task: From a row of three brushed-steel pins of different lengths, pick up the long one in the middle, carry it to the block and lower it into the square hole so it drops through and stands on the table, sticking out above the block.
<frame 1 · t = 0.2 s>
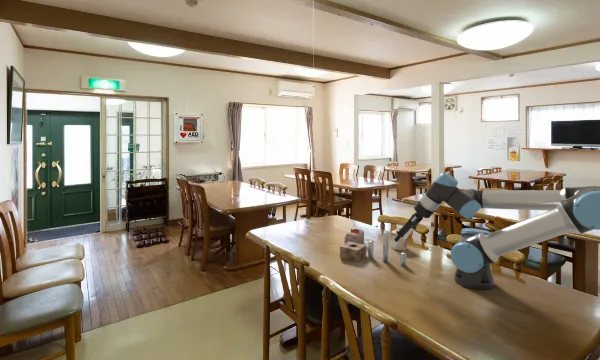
hand: (397, 241, 149), 16 cm above the table, tool tilted 35°, fingers open, 13 cm apart
food item: (354, 246, 193), on the table
pin short: (403, 265, 163), on the table
hole block: (353, 256, 175), on the table
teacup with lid: (399, 247, 190), on the table
pin long: (385, 261, 168), on the table
pin medium: (370, 257, 173), on the table
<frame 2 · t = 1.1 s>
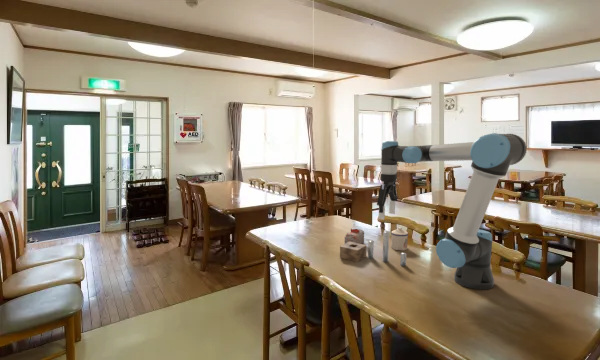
hand: (386, 216, 165), 23 cm above the table, tool pointing down, fingers open, 13 cm apart
nothing on the table moved.
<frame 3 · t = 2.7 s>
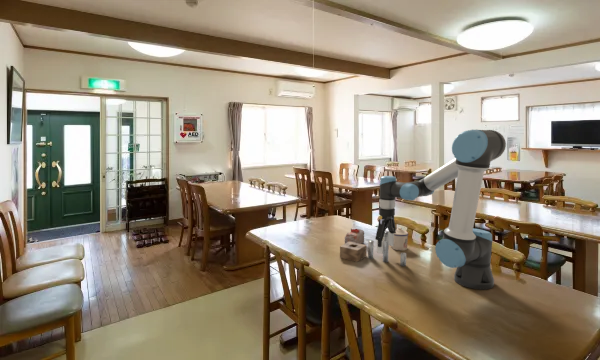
hand: (385, 249, 168), 6 cm above the table, tool pointing down, fingers open, 13 cm apart
nothing on the table moved.
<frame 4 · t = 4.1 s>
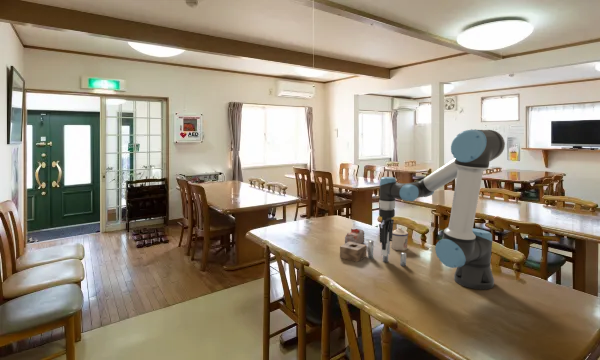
hand: (385, 254, 168), 4 cm above the table, tool pointing down, fingers closed on pin long, 2 cm apart
pin long: (385, 261, 168), on the table, touching gripper
everything else where it was.
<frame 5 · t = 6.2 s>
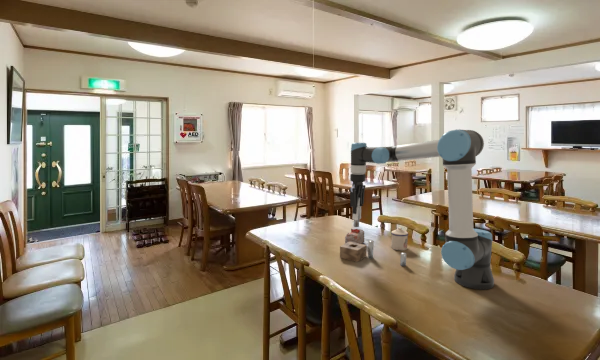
hand: (356, 219, 172), 20 cm above the table, tool pointing down, fingers closed on pin long, 2 cm apart
pin long: (356, 226, 172), point 16 cm above the table, touching gripper
everything else where it was.
when the fingers open (7 cm above the table, at t = 8.6 s): pin long drops 3 cm, resting in hole block.
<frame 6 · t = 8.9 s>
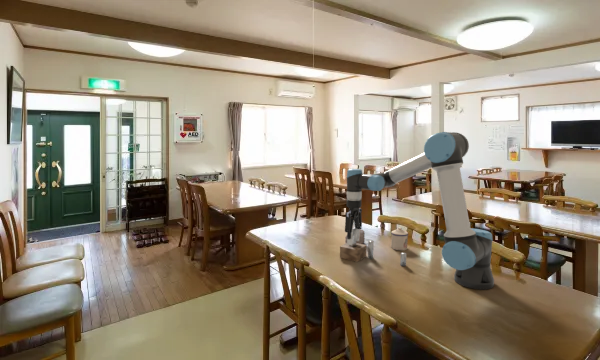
hand: (353, 242, 174), 8 cm above the table, tool pointing down, fingers open, 7 cm apart
pin long: (353, 256, 175), resting in hole block
everything else where it was.
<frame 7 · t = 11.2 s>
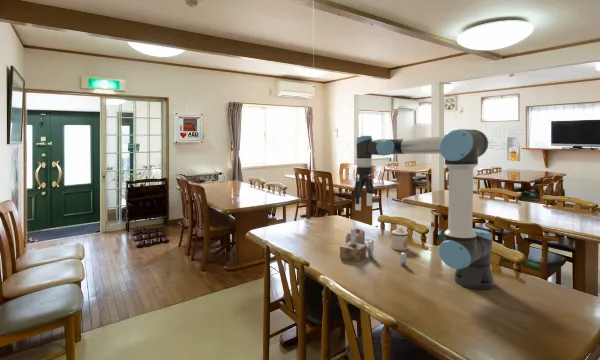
hand: (363, 208, 172), 26 cm above the table, tool pointing down, fingers open, 13 cm apart
nothing on the table moved.
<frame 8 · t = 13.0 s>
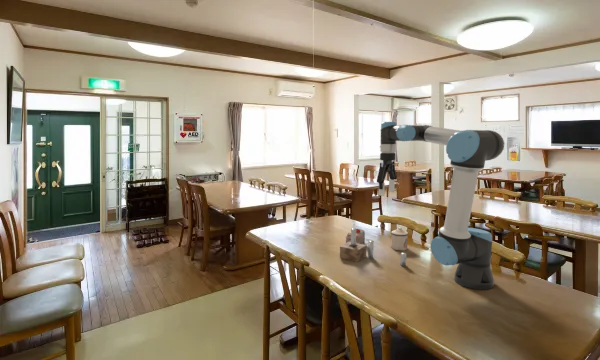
hand: (386, 193, 174), 33 cm above the table, tool pointing down, fingers open, 13 cm apart
nothing on the table moved.
at the end: pin long 0.1 cm from the target spot, resting in hole block; pin long tilted 0°; the gripper is holding nothing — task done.
